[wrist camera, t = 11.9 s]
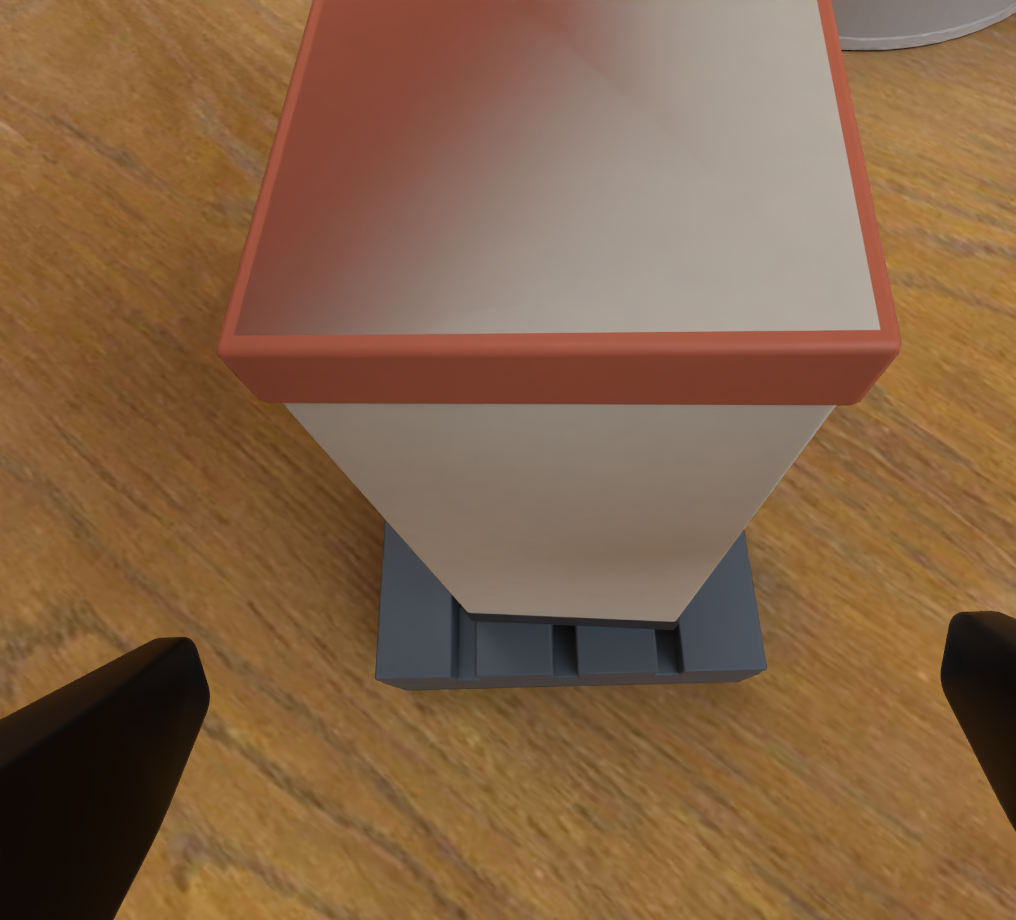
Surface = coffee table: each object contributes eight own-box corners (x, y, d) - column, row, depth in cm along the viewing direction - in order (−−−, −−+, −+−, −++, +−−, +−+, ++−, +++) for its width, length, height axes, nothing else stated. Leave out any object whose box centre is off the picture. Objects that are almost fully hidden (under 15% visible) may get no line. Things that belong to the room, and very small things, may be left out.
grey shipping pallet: (740, 682, 19) (772, 669, 16) (404, 690, 20) (370, 680, 17) (675, 250, 25) (689, 179, 22) (423, 271, 26) (401, 206, 23)
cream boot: (674, 634, 16) (908, 349, 5) (470, 625, 17) (208, 352, 5) (658, 203, 22) (745, -432, 10) (505, 207, 23) (417, -384, 11)
